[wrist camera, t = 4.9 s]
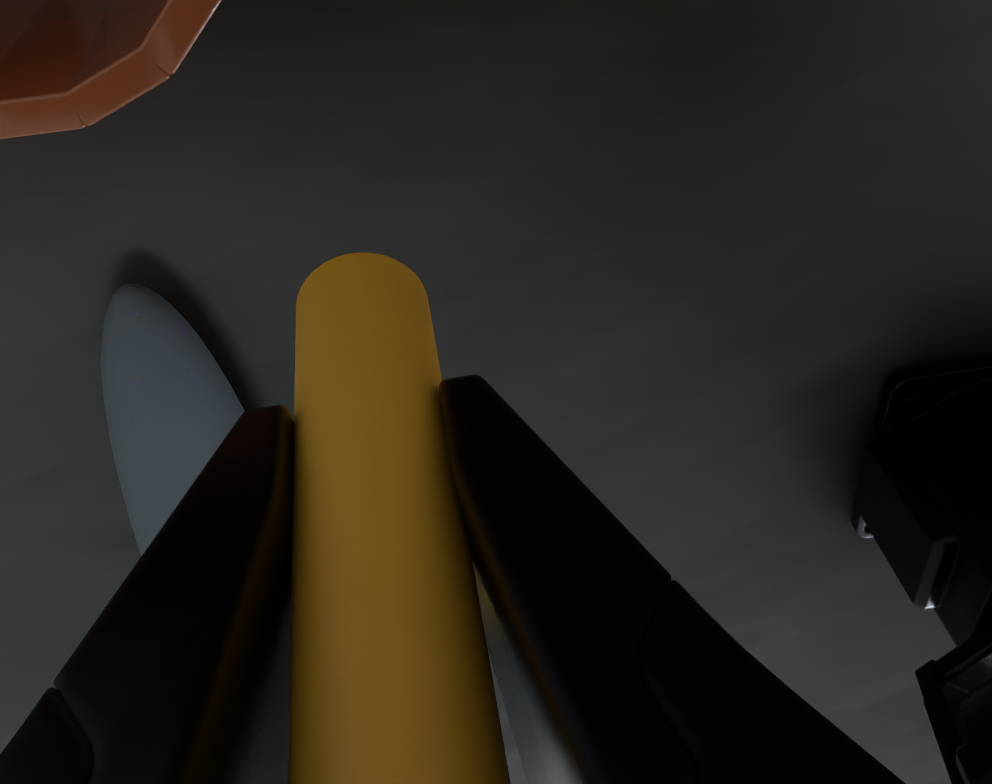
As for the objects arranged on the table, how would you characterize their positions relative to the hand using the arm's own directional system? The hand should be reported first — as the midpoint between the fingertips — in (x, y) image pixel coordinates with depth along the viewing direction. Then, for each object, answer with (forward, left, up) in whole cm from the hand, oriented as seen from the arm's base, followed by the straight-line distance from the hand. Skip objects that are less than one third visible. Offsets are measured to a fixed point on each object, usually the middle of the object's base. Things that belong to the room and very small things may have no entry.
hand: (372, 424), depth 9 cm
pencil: (0, 0, -2) cm, 2 cm away
